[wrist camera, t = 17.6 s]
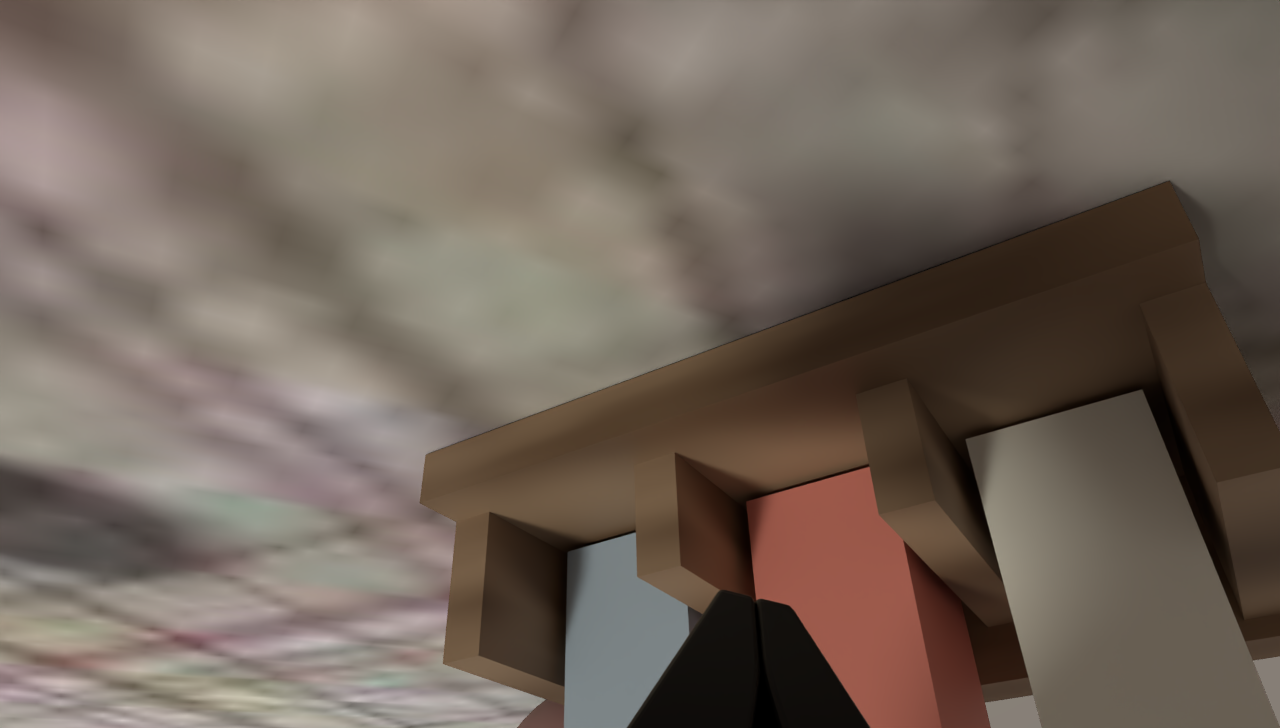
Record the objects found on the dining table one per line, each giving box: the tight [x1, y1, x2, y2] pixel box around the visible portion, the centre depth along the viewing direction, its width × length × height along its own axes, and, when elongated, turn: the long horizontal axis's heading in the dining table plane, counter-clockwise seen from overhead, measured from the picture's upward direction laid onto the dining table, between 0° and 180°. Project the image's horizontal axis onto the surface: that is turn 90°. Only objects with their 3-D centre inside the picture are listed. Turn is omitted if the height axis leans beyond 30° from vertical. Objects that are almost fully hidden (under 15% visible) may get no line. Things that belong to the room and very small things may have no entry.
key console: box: [420, 181, 1280, 705], centre depth 24 cm, size 12×19×6 cm, turn 122°
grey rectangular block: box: [564, 533, 703, 728], centre depth 26 cm, size 5×4×8 cm
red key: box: [746, 467, 991, 728], centre depth 23 cm, size 5×4×8 cm
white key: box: [965, 390, 1280, 728], centre depth 21 cm, size 5×4×8 cm
